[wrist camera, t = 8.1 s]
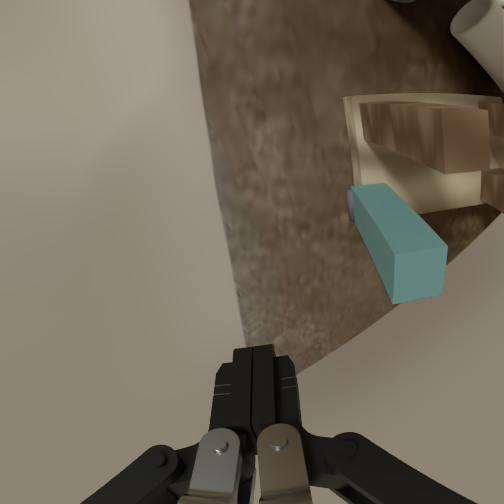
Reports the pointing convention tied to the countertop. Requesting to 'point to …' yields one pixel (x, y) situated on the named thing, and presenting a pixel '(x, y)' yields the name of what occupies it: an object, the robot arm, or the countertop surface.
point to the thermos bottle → (404, 1)
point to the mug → (483, 35)
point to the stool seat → (429, 147)
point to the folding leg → (398, 243)
